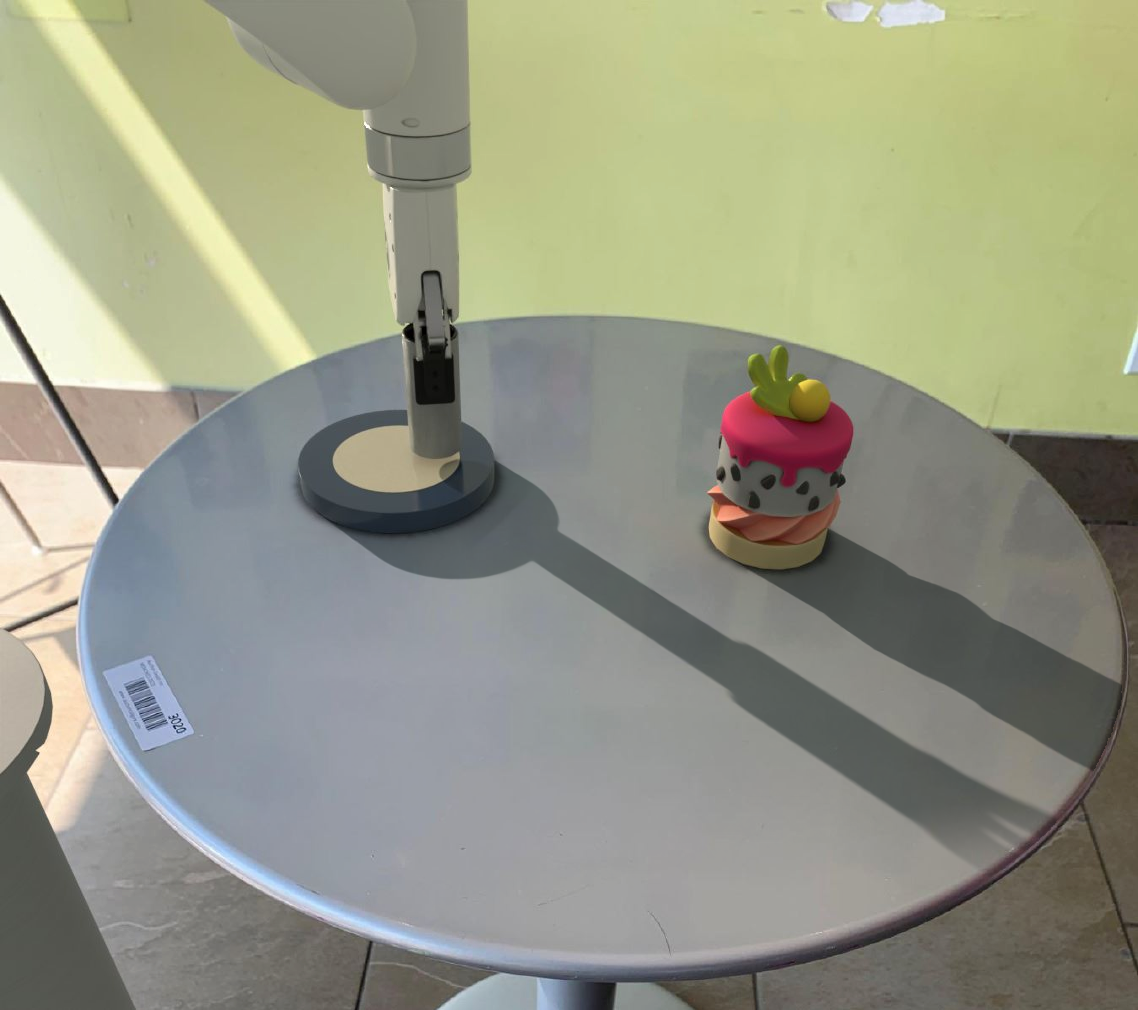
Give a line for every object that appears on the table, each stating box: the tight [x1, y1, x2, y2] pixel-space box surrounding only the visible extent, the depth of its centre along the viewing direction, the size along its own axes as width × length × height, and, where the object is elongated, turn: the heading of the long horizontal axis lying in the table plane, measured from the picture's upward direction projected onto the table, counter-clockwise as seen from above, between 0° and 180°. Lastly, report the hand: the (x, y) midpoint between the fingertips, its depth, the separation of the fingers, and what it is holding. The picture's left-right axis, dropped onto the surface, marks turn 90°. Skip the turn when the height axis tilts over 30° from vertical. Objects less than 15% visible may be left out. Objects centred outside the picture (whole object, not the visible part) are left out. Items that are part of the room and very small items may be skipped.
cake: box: [706, 344, 854, 570], centre depth 89 cm, size 10×11×15 cm
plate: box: [297, 409, 495, 534], centre depth 98 cm, size 17×17×2 cm
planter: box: [401, 323, 462, 459], centre depth 93 cm, size 4×4×10 cm
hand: (431, 384), depth 93 cm, fingers closed on planter, 4 cm apart
